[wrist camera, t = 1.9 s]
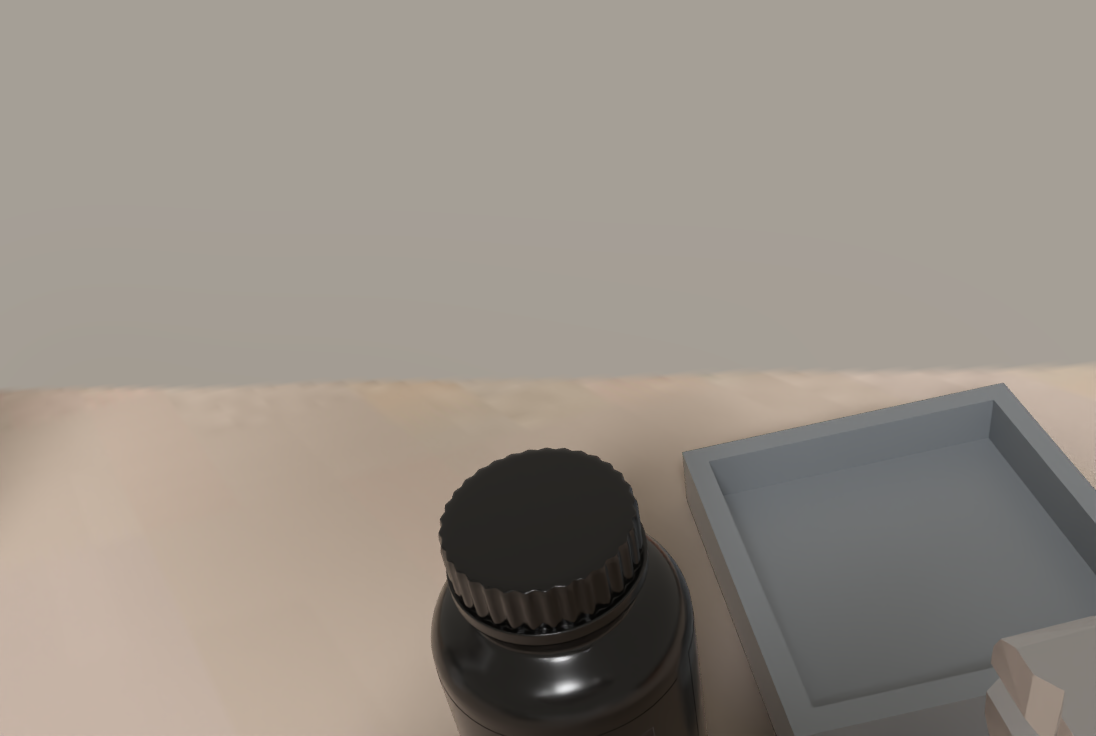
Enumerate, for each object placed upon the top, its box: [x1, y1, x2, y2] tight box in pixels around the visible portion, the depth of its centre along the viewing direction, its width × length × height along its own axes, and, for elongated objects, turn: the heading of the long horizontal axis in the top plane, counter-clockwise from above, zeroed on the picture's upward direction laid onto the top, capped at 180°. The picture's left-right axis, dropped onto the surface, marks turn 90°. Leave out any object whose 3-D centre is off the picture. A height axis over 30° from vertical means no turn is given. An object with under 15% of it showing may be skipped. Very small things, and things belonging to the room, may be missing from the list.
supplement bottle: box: [431, 448, 708, 736], centre depth 28 cm, size 7×7×12 cm
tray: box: [682, 383, 1096, 736], centre depth 35 cm, size 13×13×2 cm
